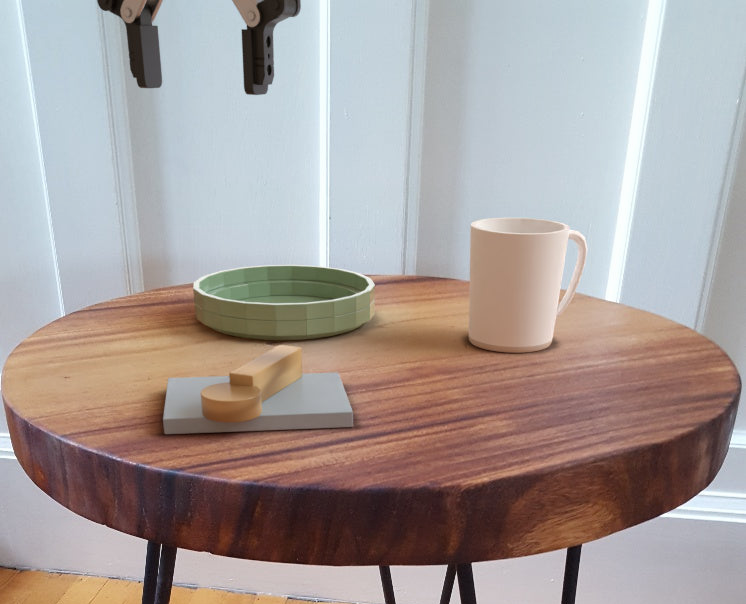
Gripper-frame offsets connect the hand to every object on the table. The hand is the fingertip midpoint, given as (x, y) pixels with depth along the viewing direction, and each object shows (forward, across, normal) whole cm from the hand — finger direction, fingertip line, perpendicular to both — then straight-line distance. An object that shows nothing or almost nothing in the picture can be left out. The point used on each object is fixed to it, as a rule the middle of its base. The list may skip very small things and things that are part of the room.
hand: (202, 91), depth 67 cm
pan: (+21, -6, +24) cm, 33 cm away
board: (+21, +5, -2) cm, 22 cm away
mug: (+21, +18, +25) cm, 38 cm away
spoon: (+20, +5, -3) cm, 21 cm away
